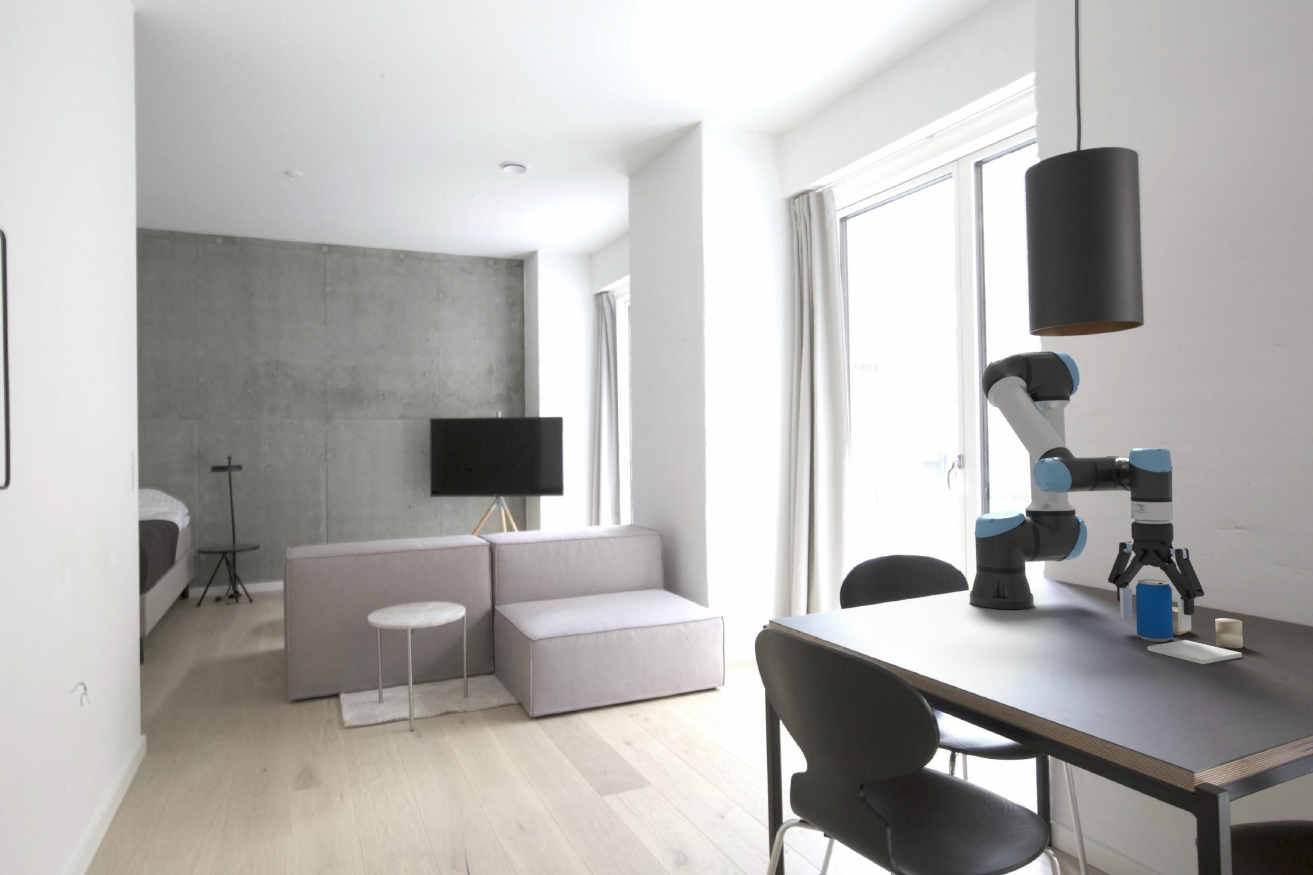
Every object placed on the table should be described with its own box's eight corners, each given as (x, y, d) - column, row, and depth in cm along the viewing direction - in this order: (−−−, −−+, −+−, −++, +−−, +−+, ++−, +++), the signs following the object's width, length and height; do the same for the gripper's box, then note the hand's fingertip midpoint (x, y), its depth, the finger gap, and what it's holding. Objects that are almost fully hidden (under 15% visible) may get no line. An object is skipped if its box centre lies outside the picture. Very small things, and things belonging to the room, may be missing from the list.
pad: (1147, 650, 160) (1147, 646, 160) (1185, 643, 164) (1185, 639, 164) (1202, 664, 150) (1202, 659, 150) (1241, 656, 154) (1241, 652, 154)
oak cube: (1153, 631, 175) (1152, 608, 175) (1163, 627, 178) (1162, 605, 178) (1178, 635, 171) (1178, 612, 171) (1188, 631, 174) (1188, 608, 174)
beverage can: (1178, 643, 165) (1177, 584, 165) (1144, 642, 166) (1142, 584, 166) (1165, 635, 171) (1164, 579, 171) (1132, 634, 172) (1130, 578, 172)
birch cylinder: (1211, 644, 163) (1210, 619, 163) (1225, 641, 165) (1224, 617, 165) (1233, 649, 159) (1232, 623, 159) (1248, 646, 161) (1247, 621, 161)
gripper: (1088, 517, 179) (1090, 614, 178) (1197, 527, 156) (1200, 638, 156) (1112, 515, 181) (1115, 611, 181) (1223, 525, 159) (1226, 634, 158)
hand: (1154, 623), depth 168 cm, fingers open, 12 cm apart
